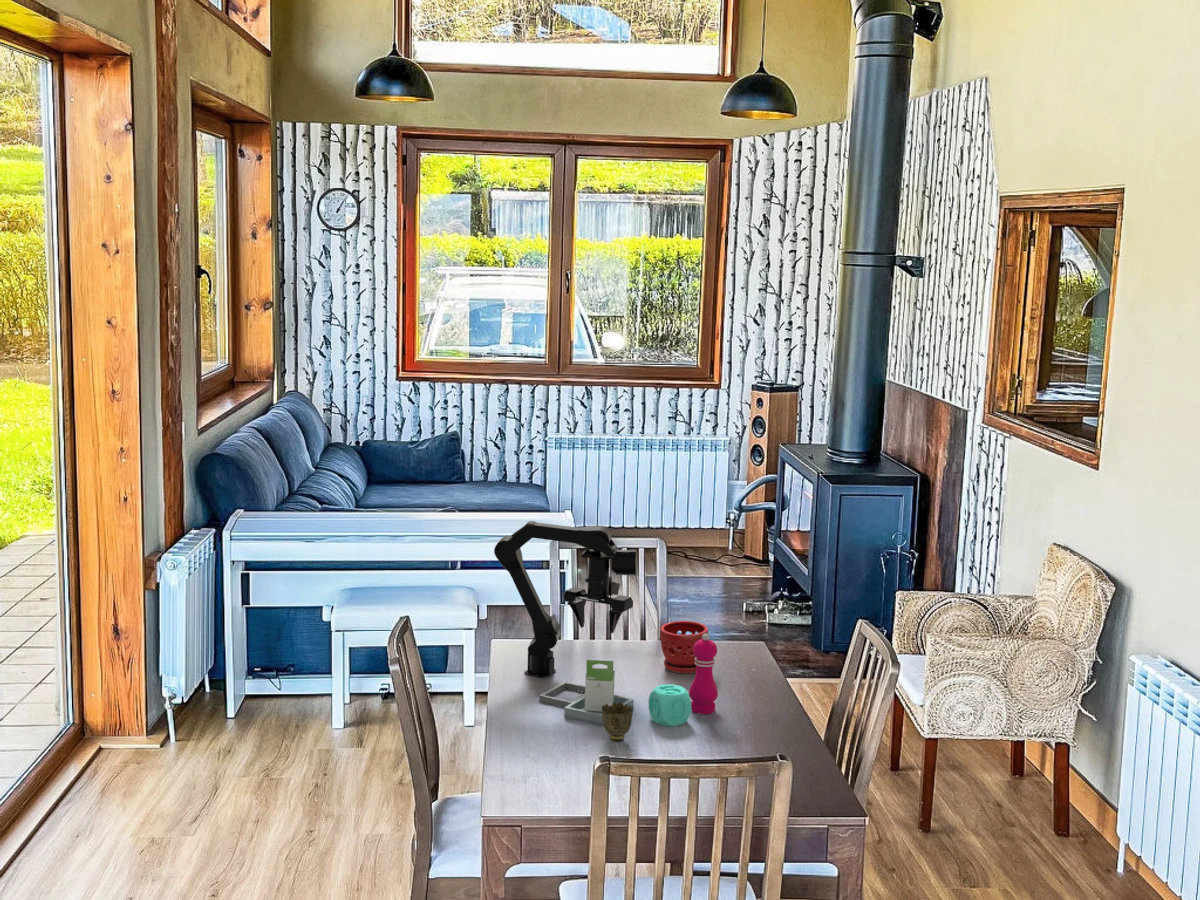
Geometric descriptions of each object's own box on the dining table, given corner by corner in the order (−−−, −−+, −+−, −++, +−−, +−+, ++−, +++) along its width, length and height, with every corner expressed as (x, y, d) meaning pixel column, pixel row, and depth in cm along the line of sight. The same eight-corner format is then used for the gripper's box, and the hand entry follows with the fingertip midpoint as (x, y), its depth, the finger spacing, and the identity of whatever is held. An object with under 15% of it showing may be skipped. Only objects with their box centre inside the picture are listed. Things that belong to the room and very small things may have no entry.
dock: (539, 701, 325) (539, 695, 325) (564, 686, 336) (564, 681, 336) (571, 708, 321) (571, 702, 320) (596, 693, 332) (596, 688, 331)
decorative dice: (676, 713, 320) (677, 682, 318) (691, 724, 313) (692, 693, 311) (647, 717, 317) (648, 686, 315) (661, 728, 309) (662, 696, 308)
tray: (564, 717, 315) (564, 707, 314) (593, 699, 327) (593, 690, 327) (605, 726, 309) (605, 716, 309) (633, 708, 322) (633, 699, 322)
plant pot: (675, 658, 362) (677, 617, 360) (715, 667, 355) (717, 626, 353) (650, 669, 352) (651, 627, 350) (690, 680, 344) (692, 637, 342)
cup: (609, 747, 297) (610, 715, 295) (595, 736, 303) (596, 704, 302) (637, 742, 300) (638, 710, 299) (622, 731, 306) (623, 700, 305)
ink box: (613, 707, 320) (615, 656, 318) (612, 713, 316) (613, 661, 314) (586, 705, 321) (587, 654, 318) (584, 711, 317) (585, 659, 315)
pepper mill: (721, 708, 324) (724, 632, 321) (711, 717, 317) (714, 639, 314) (694, 703, 327) (697, 627, 324) (684, 712, 320) (687, 635, 317)
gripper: (643, 572, 343) (641, 628, 345) (583, 562, 352) (582, 617, 354) (623, 581, 333) (622, 639, 336) (562, 571, 342) (561, 627, 345)
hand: (597, 630), depth 343 cm, fingers open, 9 cm apart
